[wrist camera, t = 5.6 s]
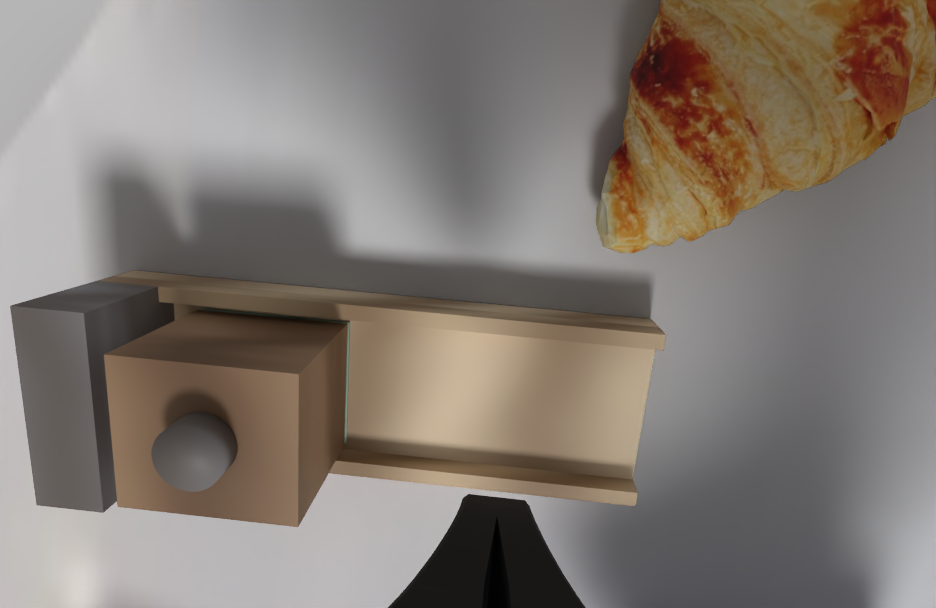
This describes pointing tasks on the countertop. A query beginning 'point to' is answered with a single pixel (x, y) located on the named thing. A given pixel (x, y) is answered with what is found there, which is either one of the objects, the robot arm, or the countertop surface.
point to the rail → (366, 385)
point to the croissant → (757, 107)
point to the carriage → (227, 415)
